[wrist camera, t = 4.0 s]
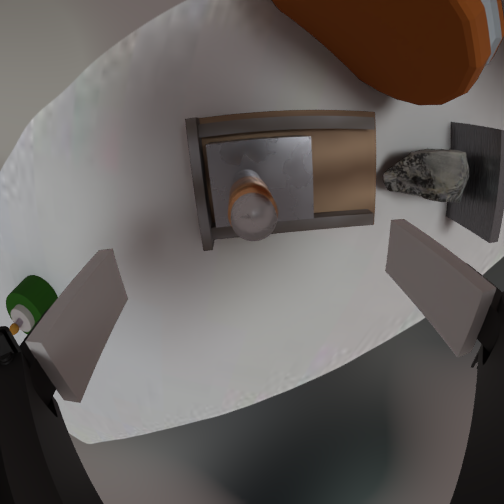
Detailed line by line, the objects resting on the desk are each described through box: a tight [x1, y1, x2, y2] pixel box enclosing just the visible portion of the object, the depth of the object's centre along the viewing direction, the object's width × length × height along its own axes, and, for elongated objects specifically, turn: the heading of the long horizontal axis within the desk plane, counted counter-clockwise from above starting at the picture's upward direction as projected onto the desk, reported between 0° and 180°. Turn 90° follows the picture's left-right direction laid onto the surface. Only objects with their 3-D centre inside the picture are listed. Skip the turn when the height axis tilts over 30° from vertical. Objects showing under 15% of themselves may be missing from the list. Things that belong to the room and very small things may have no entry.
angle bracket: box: [446, 122, 504, 243], centre depth 28 cm, size 14×5×10 cm, turn 5°
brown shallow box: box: [185, 110, 376, 251], centre depth 30 cm, size 14×21×4 cm, turn 95°
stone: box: [383, 149, 469, 203], centre depth 29 cm, size 10×10×10 cm
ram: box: [206, 135, 314, 241], centre depth 24 cm, size 8×10×15 cm
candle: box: [6, 275, 58, 335], centre depth 33 cm, size 8×8×10 cm
